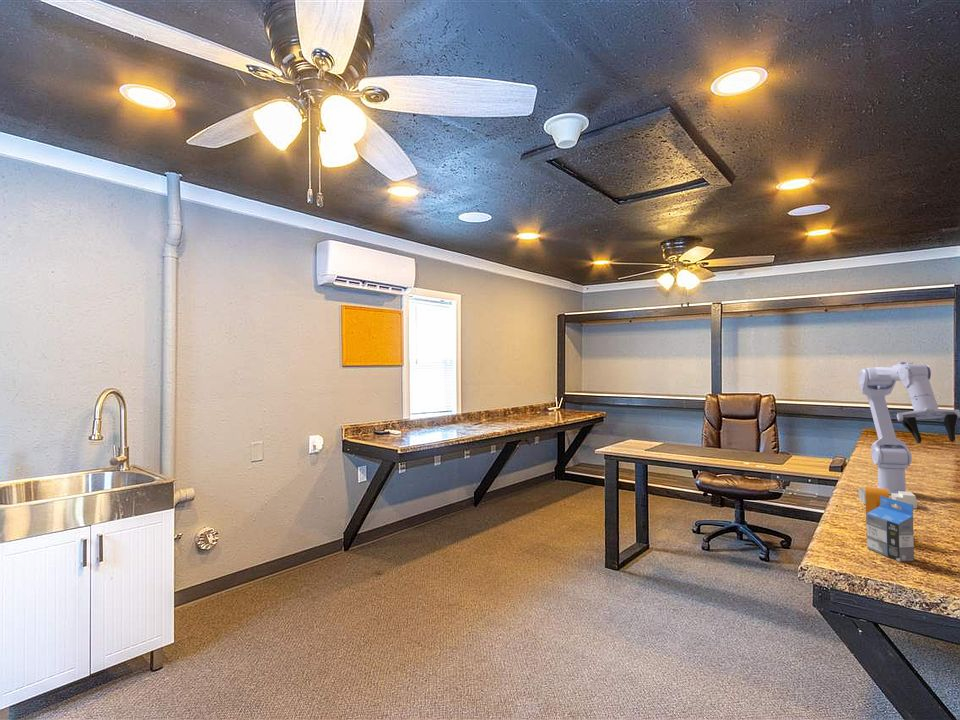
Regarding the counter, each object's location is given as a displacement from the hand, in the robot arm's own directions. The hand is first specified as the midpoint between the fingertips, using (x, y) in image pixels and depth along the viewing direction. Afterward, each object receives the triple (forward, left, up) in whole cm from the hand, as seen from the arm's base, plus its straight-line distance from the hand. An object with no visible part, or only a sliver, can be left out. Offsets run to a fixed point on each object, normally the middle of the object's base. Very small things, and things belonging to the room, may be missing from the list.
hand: (936, 441), depth 151 cm
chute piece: (-8, -6, -21) cm, 24 cm away
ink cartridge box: (+49, -21, -21) cm, 58 cm away
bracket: (+33, -19, -21) cm, 44 cm away
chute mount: (-8, -13, -21) cm, 26 cm away
